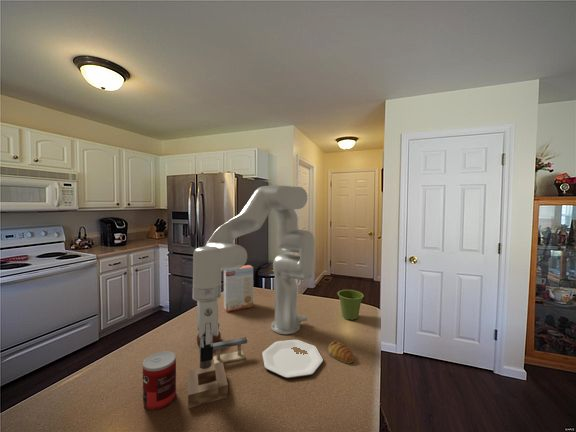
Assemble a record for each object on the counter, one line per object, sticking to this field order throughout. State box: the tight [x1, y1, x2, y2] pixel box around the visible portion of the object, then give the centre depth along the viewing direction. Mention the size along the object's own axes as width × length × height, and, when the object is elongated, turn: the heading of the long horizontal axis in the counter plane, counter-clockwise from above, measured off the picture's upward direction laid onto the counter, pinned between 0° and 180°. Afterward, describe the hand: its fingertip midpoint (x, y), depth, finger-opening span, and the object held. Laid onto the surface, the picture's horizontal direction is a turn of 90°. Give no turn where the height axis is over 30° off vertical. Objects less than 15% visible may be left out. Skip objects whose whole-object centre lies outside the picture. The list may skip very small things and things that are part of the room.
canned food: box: [142, 350, 177, 411], centre depth 66 cm, size 8×8×11 cm
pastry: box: [327, 340, 355, 364], centre depth 86 cm, size 9×7×4 cm
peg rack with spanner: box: [212, 336, 248, 365], centre depth 83 cm, size 12×4×6 cm, turn 112°
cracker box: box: [223, 264, 254, 313], centre depth 124 cm, size 14×6×21 cm, turn 117°
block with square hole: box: [187, 363, 229, 409], centre depth 69 cm, size 10×10×4 cm
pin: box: [199, 334, 213, 369], centre depth 69 cm, size 3×3×10 cm
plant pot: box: [337, 289, 365, 321], centre depth 116 cm, size 12×12×11 cm
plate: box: [261, 339, 324, 379], centre depth 84 cm, size 20×20×2 cm
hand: (206, 355), depth 69 cm, fingers closed on pin, 3 cm apart
